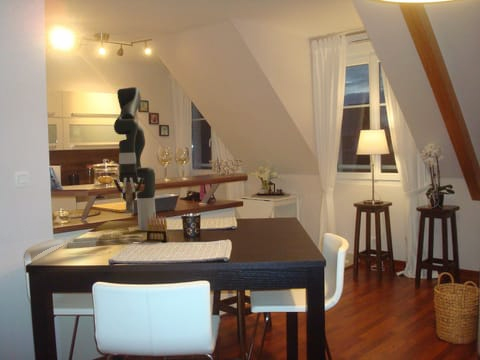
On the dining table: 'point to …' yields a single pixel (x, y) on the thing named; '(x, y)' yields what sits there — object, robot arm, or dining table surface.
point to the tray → (82, 242)
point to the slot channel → (120, 240)
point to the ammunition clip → (157, 229)
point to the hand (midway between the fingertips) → (129, 200)
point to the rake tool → (129, 198)
